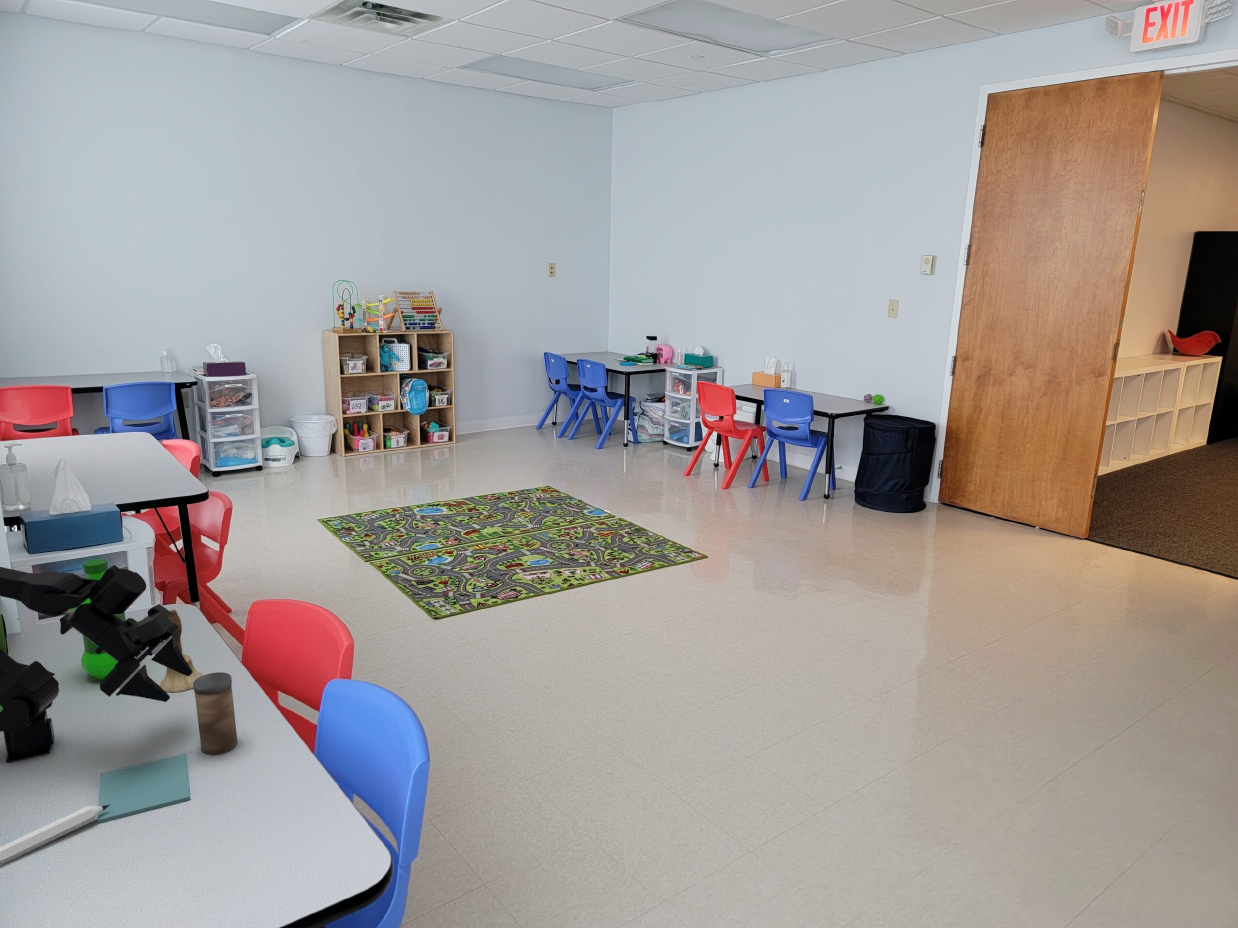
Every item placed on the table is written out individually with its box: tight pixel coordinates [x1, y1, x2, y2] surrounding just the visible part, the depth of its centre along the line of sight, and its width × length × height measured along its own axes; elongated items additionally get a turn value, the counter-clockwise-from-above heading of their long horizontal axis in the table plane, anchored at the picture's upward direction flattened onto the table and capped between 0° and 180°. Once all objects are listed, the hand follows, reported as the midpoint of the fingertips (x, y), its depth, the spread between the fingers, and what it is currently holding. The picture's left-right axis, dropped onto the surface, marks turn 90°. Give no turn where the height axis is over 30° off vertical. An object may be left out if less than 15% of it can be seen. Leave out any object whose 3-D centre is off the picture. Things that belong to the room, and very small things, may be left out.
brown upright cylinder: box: [192, 671, 238, 756], centre depth 155 cm, size 6×6×13 cm
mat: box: [97, 753, 191, 824], centre depth 144 cm, size 13×14×1 cm
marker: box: [0, 804, 111, 866], centre depth 132 cm, size 3×2×16 cm
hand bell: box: [159, 609, 204, 693], centre depth 177 cm, size 8×8×16 cm
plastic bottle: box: [71, 558, 136, 680], centre depth 179 cm, size 10×10×25 cm
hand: (179, 686), depth 153 cm, fingers open, 9 cm apart
